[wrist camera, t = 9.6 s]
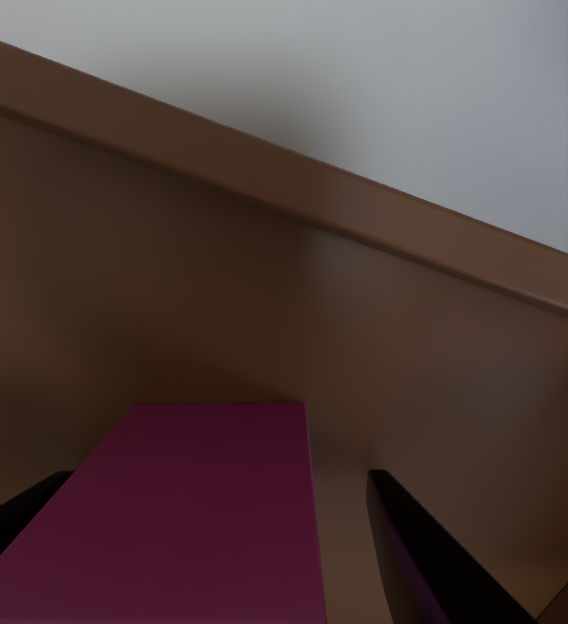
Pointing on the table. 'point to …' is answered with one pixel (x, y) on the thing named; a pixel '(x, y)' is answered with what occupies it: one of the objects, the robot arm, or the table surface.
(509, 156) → the table surface
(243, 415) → the mulberry block
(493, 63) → the table surface
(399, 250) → the tray
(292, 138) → the table surface
